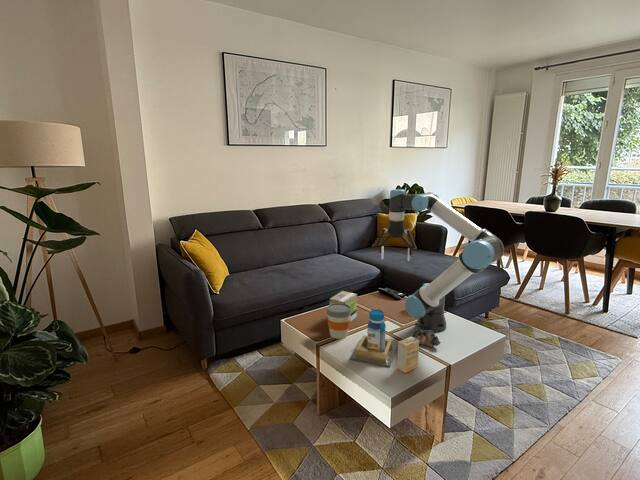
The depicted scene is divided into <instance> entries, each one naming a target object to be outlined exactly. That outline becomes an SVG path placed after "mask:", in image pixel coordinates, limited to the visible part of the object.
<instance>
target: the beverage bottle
mask: <svg viewBox="0 0 640 480" xmlns="http://www.w3.org/2000/svg"><path fill="white" fill-rule="evenodd" d="M384 311H385V310H382V309H378V308H377V309H375V308H374V309H371V310H370V311H369V313H368V315H369V317H368V318H369V320H368V322H367V330H366V333H367V336H368V346H367V350H372V351H378V352H384V351H385V339H386V334H387V331H386V329H387V328H386V327H387V325H386V323H385V312H384Z"/></svg>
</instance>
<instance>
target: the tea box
mask: <svg viewBox="0 0 640 480" xmlns="http://www.w3.org/2000/svg"><path fill="white" fill-rule="evenodd" d="M334 303H344V304H347V305H349V306H350V307H351V315H350V317H351V321H350V323H351V322H353V321H354V320H355V319H356V318H357V313H358V312H357V311H358V309H357V306H358V305H357V304H358V294H357V293H353V292H350V291H344V290H341V291H340V292H339V293H337V294H335V295H333V296H332V297H330V298H329V305H330V304H334Z"/></svg>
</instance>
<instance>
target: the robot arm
mask: <svg viewBox="0 0 640 480" xmlns="http://www.w3.org/2000/svg"><path fill="white" fill-rule="evenodd" d="M405 210H412V211H416V212H419V211H420V212H421V211H425V210H427V211H429V212H430V213H432V214H433V215H435V216H436V217H437V218H439V219H440V220H441V221H443V222H444V223H445V224H447V225H448V226H449V227H451V229H453V230H455V231H456V232H457V233H458V234H460V235H461V236H463V237H464V238H465V239H467V240H468V241H470V242H469V243H467V245H465V247H463V250H461V252H459V254H458V256H457V257H458V259H456V261H454V263H452V264H451V265H450V266H449V267H447V269H445V270H444V271H443V272H441V274H440V275H438V276H437V277H436V278H435V279H434V280H433V281H431V282H430V283H428V282H427V283H426V282H425V283H423V284H422V286H421V287H420V288H418V289H417V290H416V291H415V292H414V293H412V294H410V295H408V296H407V297H406V298H405V300H404V308H405V310H406V312H407V314H408V315H409V316H410V317H412V318H415V319H417V321H416V324H417V327H419V329H421V330H423V331H428V330H431V331H433V332H434V333H436V332H437V333H439V332H443V331H445V330H447V320H446V317H445V304H446V303H445V302H446V295H448V294H449V293H450V292H451V291H452V290H454V289H455V288H456V287H457V286H459V285H461V283H463V282H464V281H465V280H467V278H469V277H470V276H471V275H478V274H479V273H481V272H482V271H484V270H485V269H486V268H488V267H489V266H490V265H492V264H493V263H496V262H497V261H499V260H500V259H501V258H502V257H503V255H504V254H505V253H504V252H505V247H504V244H503V242H502V240H501V239H500V238H499V237H497V236H496V235H495V234H493V233H492V232H491V231H490V230H488V229H486V228H482V227H480V226H478V225H476V224H475V223H474V222H473V221H471V220H469V218H467V217H465V216H464V215H463V214H461V213H460V212H458V211H457V210H455V209H454V208H452V207H451V206H450V205H448V204H446V202H444V201H442V200H441V199H440V197H439V195H438V193H435V192H429V191H428V192H425V193H416V194H414V193H413V194H410V193H409V194H408V193H406V191H405V189H400V188H399V189H391V190H390V191H389V210H388V211H389V213H388V219H389V220H388V228H385V227H384V228H383V229H382V231H381V234H380V236H379V238H378V239H377V242H376V243H375V246H377V247H378V248H379V250H378V252H379V253H380V258H381V259H380V260H384V249H385V247H384V245H385V243H387V241H389V239H390V238H392V239H395V238H397V239H399V238H400V239H401V240H402V242H404V243H405V245H406V246H407V247H408V248H407V258H406V259H407V262H410V256H411V255H412V253H413V249H416V248H417V247H416V243H415V240H414V239H413V237H412V235H411V229H404V228H405V226H404V225H405V221H404V220H405ZM386 233H388V236H386V238H385V239H383V237H384V236H385V234H386ZM404 234H406V235H407V237H408V239H409V240H408V239H407V238H406V237H405V235H404ZM382 239H383V241H382ZM409 241H410V242H409Z"/></svg>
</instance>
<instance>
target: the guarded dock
mask: <svg viewBox="0 0 640 480" xmlns="http://www.w3.org/2000/svg"><path fill="white" fill-rule="evenodd" d="M367 346H368V335H363V336H362V337H361V339H359V340H358V342H357V344H356V346H355V348H354V350H353V352H352V353H351V354H350V357H349V360H351V361H354V362H361V363H364V364H365V363H366V364H370V365H374V366H381V367H387V368H391V367H392V366H391V365H392V362H393V360H394V357H395V353H396V350H397V349H398V345H395V344H393V340H392V339H386V338H385V351H384V352H378V351H372V350H367Z"/></svg>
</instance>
